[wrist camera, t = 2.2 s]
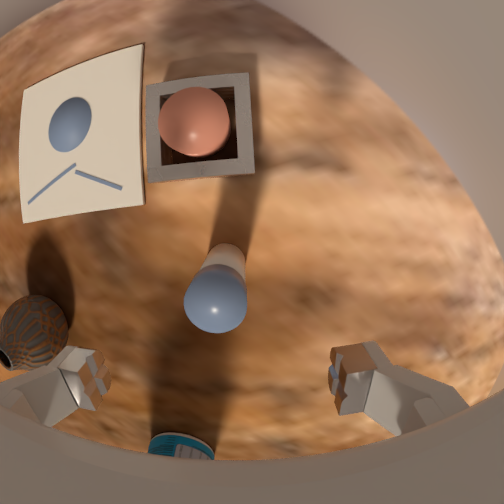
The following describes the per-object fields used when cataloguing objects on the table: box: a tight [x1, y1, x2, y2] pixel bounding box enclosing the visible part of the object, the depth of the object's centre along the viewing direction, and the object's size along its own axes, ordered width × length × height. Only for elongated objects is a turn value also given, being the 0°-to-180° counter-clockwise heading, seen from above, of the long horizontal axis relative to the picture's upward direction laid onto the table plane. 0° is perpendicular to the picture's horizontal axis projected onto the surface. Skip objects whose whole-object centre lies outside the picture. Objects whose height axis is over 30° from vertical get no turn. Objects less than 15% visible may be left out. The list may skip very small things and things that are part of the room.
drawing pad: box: [19, 44, 145, 223], centre depth 18 cm, size 14×14×1 cm
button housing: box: [146, 73, 255, 183], centre depth 18 cm, size 7×7×3 cm
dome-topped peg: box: [184, 243, 247, 333], centre depth 18 cm, size 3×3×8 cm
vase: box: [0, 295, 68, 371], centre depth 18 cm, size 7×7×9 cm
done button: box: [158, 87, 231, 158], centre depth 16 cm, size 4×4×3 cm
